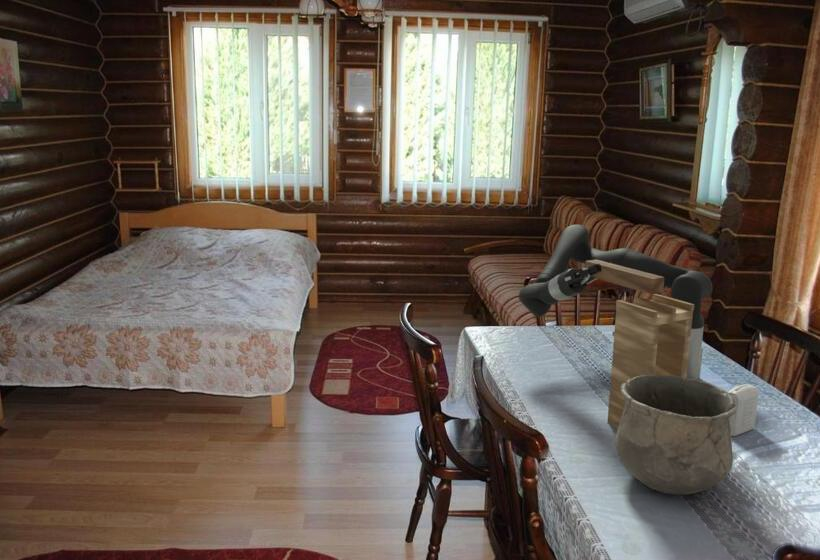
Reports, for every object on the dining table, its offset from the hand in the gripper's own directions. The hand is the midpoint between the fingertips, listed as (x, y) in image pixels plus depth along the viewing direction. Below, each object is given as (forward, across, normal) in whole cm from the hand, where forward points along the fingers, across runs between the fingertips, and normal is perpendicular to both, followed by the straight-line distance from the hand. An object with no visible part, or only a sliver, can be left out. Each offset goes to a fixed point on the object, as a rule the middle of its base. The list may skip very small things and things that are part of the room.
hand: (605, 266), depth 188 cm
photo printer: (+8, -18, -50) cm, 54 cm away
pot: (+17, +19, -55) cm, 60 cm away
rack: (-3, +1, -43) cm, 43 cm away
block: (+4, 0, -6) cm, 7 cm away
